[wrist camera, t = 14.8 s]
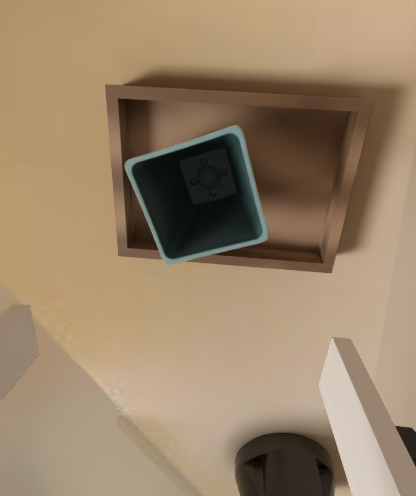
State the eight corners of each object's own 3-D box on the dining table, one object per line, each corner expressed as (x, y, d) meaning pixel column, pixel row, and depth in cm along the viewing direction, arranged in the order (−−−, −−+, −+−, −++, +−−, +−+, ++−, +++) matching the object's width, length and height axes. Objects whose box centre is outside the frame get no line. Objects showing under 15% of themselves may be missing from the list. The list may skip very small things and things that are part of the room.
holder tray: (322, 257, 35) (331, 273, 32) (128, 242, 36) (118, 255, 33) (358, 99, 28) (374, 98, 25) (119, 86, 29) (105, 84, 26)
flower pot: (181, 228, 34) (164, 267, 26) (151, 146, 31) (121, 161, 22) (261, 206, 32) (271, 241, 24) (239, 117, 29) (241, 122, 21)
